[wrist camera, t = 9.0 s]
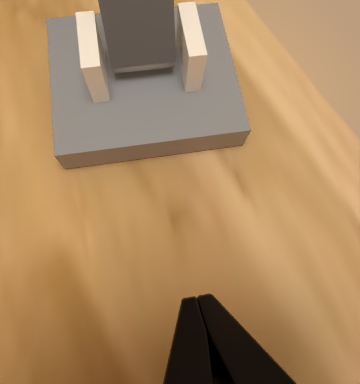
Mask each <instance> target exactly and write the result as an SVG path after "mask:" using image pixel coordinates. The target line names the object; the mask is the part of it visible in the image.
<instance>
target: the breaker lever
mask: <svg viewBox="0 0 360 384" xmlns="http://www.w3.org/2000/svg"><path fill="white" fill-rule="evenodd" d="M98 1H99V7H100V12H101V17H102V22H103V27H104V33H105V38H106V43H107V48H108V53H109V59H110V64H111V68H113V71H114V74H116V73H125V72H134V71H143V70H152V69H161V68H171V67H175V61H176V43H175V19H174V0H98Z"/></svg>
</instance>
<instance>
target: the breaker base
mask: <svg viewBox="0 0 360 384" xmlns="http://www.w3.org/2000/svg"><path fill="white" fill-rule="evenodd" d="M174 19H175V43H176V61H175V67H171V68H161V69H152V70H143V71H134V72H125V73H116V74H114V71H113V68H111V64H110V59H109V53H108V48H107V43H106V38H105V33H104V27H103V22H102V17H101V13H100V14H95V13H94V11H85V12H76V16H67V17H56V18H46V20H47V37H48V54H49V71H50V88H51V106H52V123H53V140H54V156H55V157H56V158H57V160H58V161H59V162H60V163H61V165H62V166H63V167H64V168H65V169H71V168H78V167H86V166H93V165H100V164H108V163H115V162H122V161H130V160H137V159H145V158H152V157H159V156H167V155H174V154H182V153H189V152H196V151H204V150H211V149H218V148H226V147H233V146H241V145H243V144H244V142H245V140H246V138H247V136H248V135H249V133H250V131H251V129H250V125H249V121H248V117H247V113H246V110H245V106H244V102H243V98H242V94H241V90H240V86H239V83H238V79H237V75H236V71H235V67H234V63H233V59H232V56H231V52H230V48H229V44H228V40H227V36H226V32H225V29H224V25H223V21H222V17H221V13H220V9H219V5H218V3H211V4H200V5H196V3H195V2H185V3H178V7H174Z"/></svg>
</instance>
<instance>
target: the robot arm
mask: <svg viewBox="0 0 360 384" xmlns="http://www.w3.org/2000/svg"><path fill="white" fill-rule="evenodd" d="M163 384H296V383H295V381H294V380H293V379H292V378H291V377H290V376H289V375H288V374H287V373H286V372H285V371H284V370H283V369H282V368H281V367H280V366H279V365H278V364H277V362H276V361H275V360H274V359H273V358H272V357H271V356H270V355H269V354H268V353H267V352H266V351H265V350H264V349H263V348H262V347H261V346H260V344H259V343H258V342H257V341H256V340H255V339H254V338H253V337H252V336H251V335H250V334H249V333H248V332H247V331H246V330H245V329H244V328H243V327H242V325H241V324H240V323H239V322H238V321H237V320H236V319H235V318H234V317H233V316H232V315H231V314H230V313H229V312H228V311H227V310H226V309H225V307H224V306H223V305H222V304H221V303H220V302H219V301H218V300H217V299H216V298H215V297H214V296H213V295H212V294H205V295H199V296H198V297H197V298H196V297H195V296H193V297H188V298H183V299H182V301H181V305H180V310H179V314H178V319H177V323H176V328H175V332H174V337H173V341H172V345H171V350H170V354H169V359H168V363H167V368H166V372H165V377H164V381H163Z"/></svg>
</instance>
